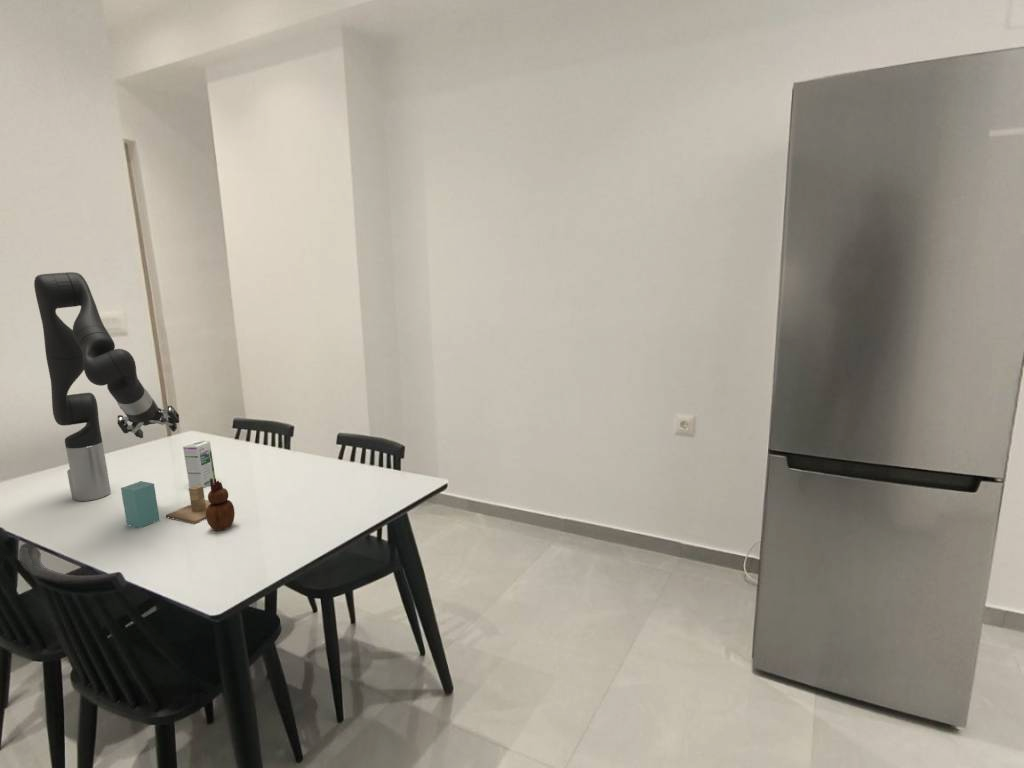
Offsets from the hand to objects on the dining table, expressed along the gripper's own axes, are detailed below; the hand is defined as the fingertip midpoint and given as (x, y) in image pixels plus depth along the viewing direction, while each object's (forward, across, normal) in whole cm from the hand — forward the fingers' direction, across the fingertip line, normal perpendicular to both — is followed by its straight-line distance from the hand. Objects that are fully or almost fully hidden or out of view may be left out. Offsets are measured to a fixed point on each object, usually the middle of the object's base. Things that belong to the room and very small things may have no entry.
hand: (158, 432), depth 166 cm
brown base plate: (+10, -7, +24) cm, 27 cm away
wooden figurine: (0, -15, +35) cm, 38 cm away
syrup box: (+27, -4, +6) cm, 28 cm away
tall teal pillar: (+7, +6, +24) cm, 26 cm away
